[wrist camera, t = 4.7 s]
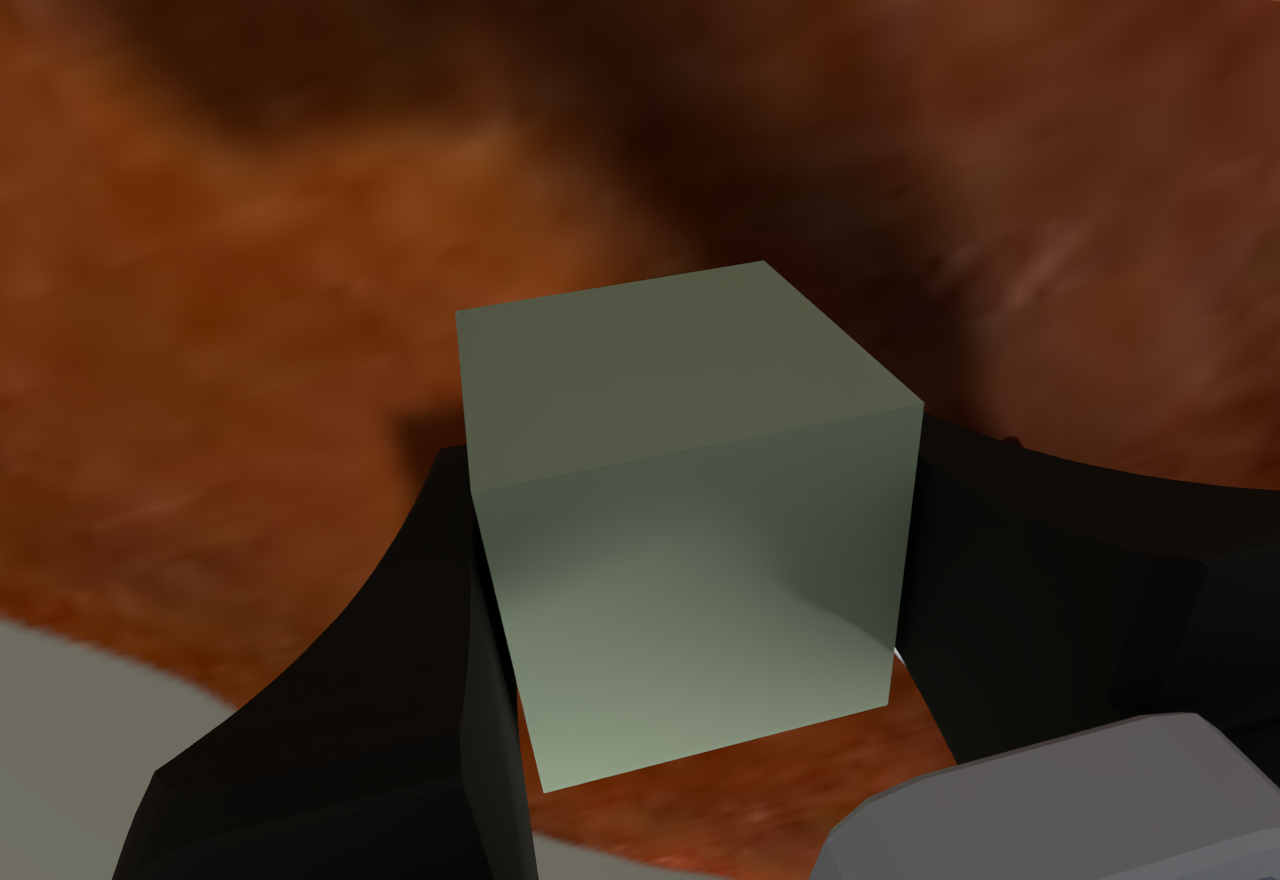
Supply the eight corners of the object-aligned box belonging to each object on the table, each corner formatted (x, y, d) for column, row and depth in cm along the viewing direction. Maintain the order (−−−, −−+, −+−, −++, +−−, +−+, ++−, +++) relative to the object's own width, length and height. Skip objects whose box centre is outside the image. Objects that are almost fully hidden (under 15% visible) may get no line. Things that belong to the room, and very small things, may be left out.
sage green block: (763, 505, 16) (887, 704, 11) (510, 559, 15) (543, 793, 11) (763, 260, 13) (924, 402, 9) (455, 311, 12) (471, 493, 8)
